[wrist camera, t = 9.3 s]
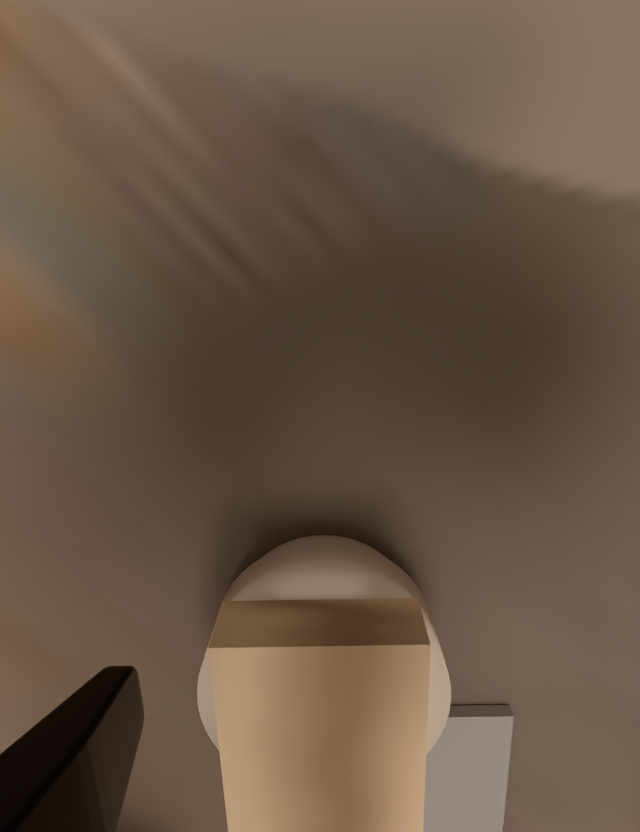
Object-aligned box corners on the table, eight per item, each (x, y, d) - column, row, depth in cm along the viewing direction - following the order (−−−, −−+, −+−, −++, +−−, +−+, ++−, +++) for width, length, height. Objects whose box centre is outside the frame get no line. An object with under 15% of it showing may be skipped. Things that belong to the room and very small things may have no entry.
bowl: (231, 694, 22) (208, 800, 18) (214, 524, 20) (182, 596, 16) (422, 691, 22) (447, 797, 18) (428, 518, 20) (457, 591, 15)
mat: (293, 867, 25) (292, 881, 25) (282, 708, 23) (281, 720, 22) (494, 865, 25) (497, 879, 25) (508, 704, 22) (513, 716, 22)
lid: (241, 794, 18) (231, 858, 16) (222, 601, 16) (208, 648, 14) (411, 793, 18) (422, 856, 16) (417, 598, 16) (430, 644, 14)
